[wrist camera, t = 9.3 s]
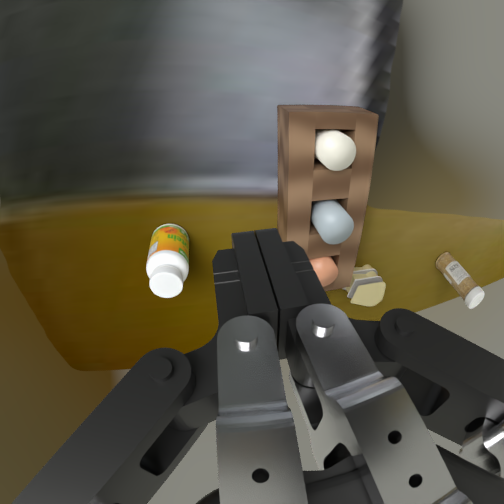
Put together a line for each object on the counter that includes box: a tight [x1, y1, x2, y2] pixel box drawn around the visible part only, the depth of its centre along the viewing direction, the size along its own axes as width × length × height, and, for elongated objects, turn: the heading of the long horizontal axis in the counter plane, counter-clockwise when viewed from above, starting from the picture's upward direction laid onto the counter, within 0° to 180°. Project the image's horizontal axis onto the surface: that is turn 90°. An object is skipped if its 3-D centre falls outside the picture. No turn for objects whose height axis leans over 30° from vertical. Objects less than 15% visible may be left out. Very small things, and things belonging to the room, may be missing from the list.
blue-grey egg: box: [310, 199, 354, 244], centre depth 36 cm, size 4×4×5 cm
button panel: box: [277, 105, 378, 291], centre depth 39 cm, size 27×11×5 cm, turn 2°
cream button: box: [314, 129, 356, 171], centre depth 32 cm, size 4×4×5 cm
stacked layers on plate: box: [343, 265, 386, 306], centre depth 50 cm, size 10×9×6 cm
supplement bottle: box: [146, 224, 189, 298], centre depth 37 cm, size 5×5×10 cm
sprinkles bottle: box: [436, 252, 484, 309], centre depth 49 cm, size 5×5×13 cm
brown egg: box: [309, 256, 338, 287], centre depth 43 cm, size 4×4×5 cm
